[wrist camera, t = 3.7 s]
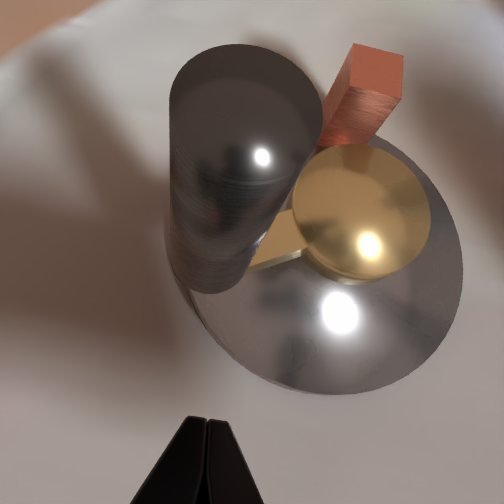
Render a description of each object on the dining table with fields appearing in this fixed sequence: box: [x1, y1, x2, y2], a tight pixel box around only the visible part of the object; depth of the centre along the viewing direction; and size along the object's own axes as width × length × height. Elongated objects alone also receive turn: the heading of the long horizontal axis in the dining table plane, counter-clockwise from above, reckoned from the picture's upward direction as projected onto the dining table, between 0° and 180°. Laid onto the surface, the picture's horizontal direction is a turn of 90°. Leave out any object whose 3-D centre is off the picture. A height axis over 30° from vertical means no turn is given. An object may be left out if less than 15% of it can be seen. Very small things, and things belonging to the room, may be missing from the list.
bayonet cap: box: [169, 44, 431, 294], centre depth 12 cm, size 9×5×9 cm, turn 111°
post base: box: [187, 43, 463, 395], centre depth 17 cm, size 12×12×5 cm
